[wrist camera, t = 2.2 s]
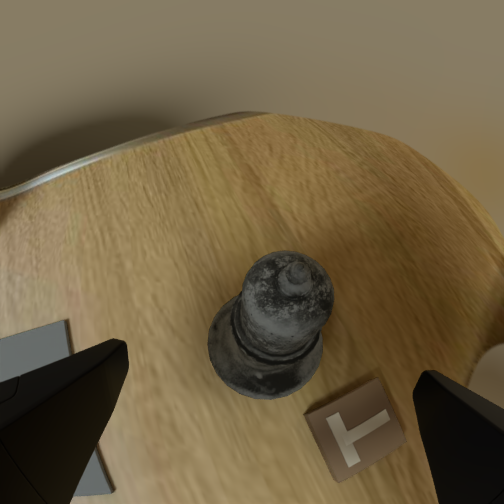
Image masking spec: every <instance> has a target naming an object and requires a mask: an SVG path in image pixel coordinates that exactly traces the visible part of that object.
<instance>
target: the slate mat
mask: <svg viewBox="0 0 504 504" xmlns="http://www.w3.org/2000/svg"><path fill="white" fill-rule="evenodd" d="M70 355H72V354H71V348H70V342H69V336H68V330H67V323H66V321H64V320H63V321H59V322H56V323H53V324H49V325H46V326H43V327H40V328H36V329H33V330H30V331H26V332H23V333H20V334H16V335H13V336H10V337H6V338H3V339H0V382H2V381H5V380H8V379H11V378H13V377H16V376H20V375H21V374H24V373H27V372H29V371H32V370H34V369H37V368H40V367H42V366H45V365H47V364H50V363H52V362H55V361H58V360H60V359H63V358H65V357H68V356H70ZM112 493H113V489H112V487H111V485H110V482H109V480H108V477H107V475H106V472H105V470H104V467H103V465H102V462H101V459H100V457H99V454H98V451H97V448H95V450H94V452H93V454H92V456H91V458H90V460H89V462H88V465H87V467H86V469H85V471H84V473H83V475H82V478H81V480H80V482H79V484H78V486H77V489H76V491H75V493H74V495H73V496H90V495H102V494H112Z"/></svg>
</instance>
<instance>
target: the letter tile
mask: <svg viewBox="0 0 504 504" xmlns="http://www.w3.org/2000/svg"><path fill="white" fill-rule="evenodd" d="M304 417H305V419H306V421H307V424H308V426H309V428H310V430H311V432H312V434H313V437H314V439H315V441H316V443H317V445H318V447H319V449H320V452H321V454H322V456H323V458H324V460H325V462H326V464H327V466H328V469H329V471H330V473H331V475H332V477H333V479H334V480H335V481H337V482H338V483H340V482H342V481H344V480H346V479H348V478H350V477H351V476H353V475H355V474H357V473H358V472H360V471H362V470H364V469H365V468H367V467H369V466H370V465H372V464H374V463H375V462H377V461H379V460H380V459H382V458H383V457H385V456H386V455H388V454H389V453H391V452H392V451H394V450H395V449H397V448H398V447H400V446H401V445H403V444H404V443H406V442H407V440H406V438H405V436H404V433H403V431H402V429H401V426H400V424H399V422H398V419H397V417H396V415H395V413H394V410H393V408H392V406H391V404H390V402H389V399H388V397H387V395H386V393H385V391H384V389H383V386H382V384H381V382H380V380H379V378H378V377H377V378H374V379H371V380H369V381H368V382H366V383H364V384H362V385H361V386H359V387H357V388H355V389H353V390H352V391H350V392H348V393H346V394H344V395H342V396H340V397H338V398H336V399H335V400H333V401H331V402H329V403H327V404H325V405H323V406H321V407H319V408H316V409H314V410H312V411H310V412H308V413H306V414H304Z"/></svg>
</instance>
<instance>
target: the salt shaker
mask: <svg viewBox="0 0 504 504" xmlns="http://www.w3.org/2000/svg"><path fill="white" fill-rule="evenodd" d="M333 303H334V288H333V285H332V282H331V279H330V277H329V276H328V274H327V273H326V271H325V269H324V268H323V267H322V266H321V265H320V264H319V263H318V262H316V261H315V260H313V259H312V258H310V257H308V256H307V255H304V254H301V253H298V252H294V251H278V252H273V253H270V254H268V255H265V256H263V257H262V258H260V259H259V260H258V261H256V262H255V263H254V265H253V266H252V267H251V269H250V270H249V271H248V273H247V274H246V277H245V280H244V282H243V288H242V291H241V292H240V294H239V295H238V296H235V297H234V298H232V299H231V300H230V301H228V302H227V303H226V304H225V305H223V307H222V308H221V309H220V310H219V312H218V313H217V314H216V316H215V317H214V319H213V322H212V324H211V327H210V329H209V336H208V351H209V357H210V361H211V363H212V365H213V367H214V369H215V371H216V373H217V375H218V376H219V377H220V378H221V379H222V380H223V381H224V383H225V384H226V385H227V386H229V387H230V388H232V389H233V390H235V391H236V392H238V393H239V394H242V395H245V396H248V397H251V398H254V399H269V400H271V399H276V398H281V397H285V396H288V395H290V394H292V393H293V392H295V391H297V390H299V389H301V388H302V387H303V386H304V385H305V384H306V383H307V382H308V381H309V380H310V379H311V378H312V376H313V375H314V373H315V371H316V370H317V368H318V366H319V363H320V360H321V356H322V352H323V338H322V334H321V330H322V327H323V326H324V325H325V323H326V322H327V320H328V318H329V316H330V315H331V312H332V307H333Z"/></svg>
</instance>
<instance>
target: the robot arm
mask: <svg viewBox="0 0 504 504" xmlns="http://www.w3.org/2000/svg"><path fill="white" fill-rule="evenodd" d="M128 369H129V360H128V350H127V344H126V342H125V341H123V340H119V339H114V338H113V339H110V340H107V341H105V342H102V343H100V344H98V345H95V346H93V347H90V348H88V349H85V350H83V351H80V352H78V353H75V354H73V355H70V356H68V357H65V358H63V359H60V360H58V361H55V362H52V363H50V364H47V365H45V366H42V367H40V368H37V369H34V370H32V371H29V372H27V373H24V374H21V375H20V376H16V377H13V378H11V379H8V380H5V381H2V382H0V504H70V502H71V500H72V498H73V495H74V493H75V491H76V489H77V486H78V484H79V482H80V480H81V478H82V475H83V473H84V471H85V469H86V467H87V465H88V462H89V460H90V458H91V456H92V454H93V452H94V450H95V448H96V446H97V444H98V442H99V439H100V437H101V435H102V433H103V431H104V429H105V427H106V425H107V423H108V421H109V419H110V417H111V415H112V413H113V411H114V408H115V405H116V403H117V400H118V397H119V394H120V392H121V389H122V386H123V383H124V381H125V378H126V375H127V373H128ZM413 401H414V406H415V411H416V415H417V420H418V425H419V430H420V435H421V438H422V442H423V445H424V449H425V452H426V456H427V459H428V463H429V466H430V470H431V474H432V478H433V482H434V486H435V490H436V494H437V498H438V502H439V504H504V409H502V408H501V407H499V406H497V405H496V404H494V403H492V402H490V401H488V400H487V399H485V398H483V397H481V396H480V395H478V394H476V393H474V392H472V391H471V390H469V389H467V388H465V387H464V386H462V385H460V384H458V383H457V382H455V381H453V380H451V379H450V378H448V377H446V376H444V375H443V374H441V373H439V372H437V371H435V370H426V371H424V372H423V373H422V374H421V376H420V378H419V380H418V382H417V384H416V386H415V388H414V390H413Z"/></svg>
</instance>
